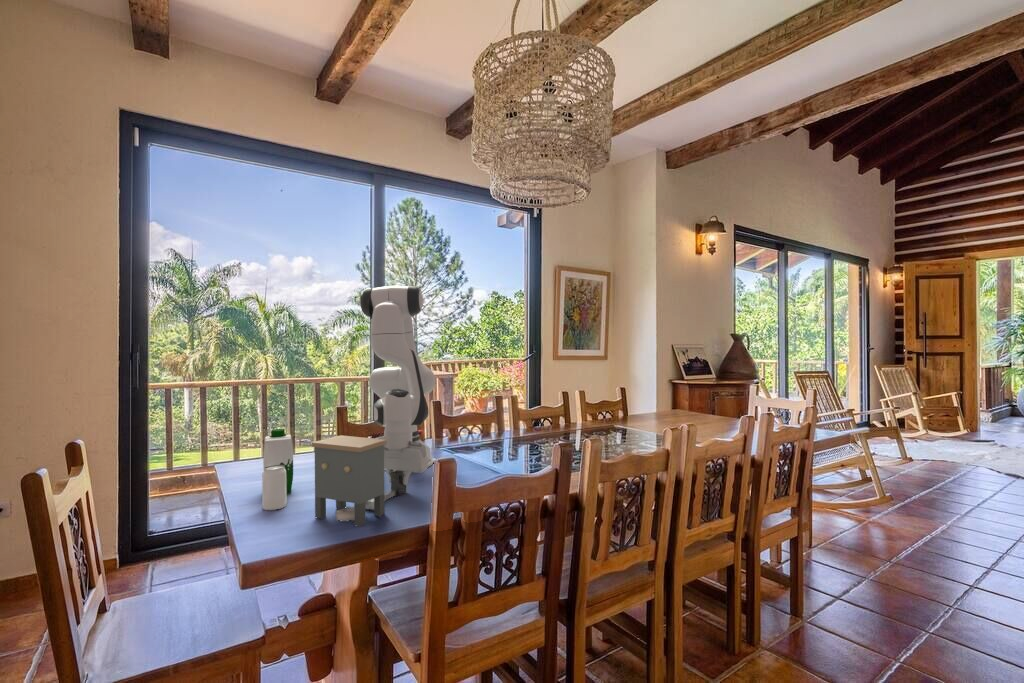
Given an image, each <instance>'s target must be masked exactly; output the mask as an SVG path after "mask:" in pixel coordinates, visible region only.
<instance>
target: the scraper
mask: <svg viewBox="0 0 1024 683" xmlns="http://www.w3.org/2000/svg"><path fill="white" fill-rule="evenodd" d="M404 476H405V474H404V471H399V470H396V471H393V472H391V483H390V491H388V492H386V493H385V492H384V502H386V501H387V500H389V498H390V499H392V498H393V496H394V497H395V496H400V495H403V494H405V493H407V484H406V485H403V484H401V479H403V478H404ZM391 497H392V498H391ZM369 509H370V510H371V511H374V498H373V499H371V500H369V501H366V502H365V510H369Z"/></svg>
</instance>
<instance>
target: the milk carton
mask: <svg viewBox="0 0 1024 683" xmlns="http://www.w3.org/2000/svg"><path fill="white" fill-rule="evenodd" d="M285 431H286V430H285V429H284V428H275V429H274V428H273V429H272V430H270V432H271V433H270V435H269V436H268V435H266V436H265V437H264V442H263V444H264V445H263V449H262V450H263V454H262V455H263V468H264V467H267V466H270V465H284V466H285V467H284V468H285V470H286V488H287V495H289V494H288V493H291V494H292V486H293V481H294V444H293V438H292V435H291V434H290V433H289V434H286V432H285Z"/></svg>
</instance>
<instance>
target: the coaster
mask: <svg viewBox="0 0 1024 683" xmlns="http://www.w3.org/2000/svg"><path fill="white" fill-rule="evenodd" d="M335 517H336V518H335V519H337V520H336V521H338V520H342V521H346V522H350V521H349V520H352V521H355V520H354V519H355V509H354V506H348V507H347V506H346V508H342V509H337V510H336V511H335ZM347 520H348V521H347ZM342 521H341V522H342Z"/></svg>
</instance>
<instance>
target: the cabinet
mask: <svg viewBox="0 0 1024 683" xmlns="http://www.w3.org/2000/svg"><path fill="white" fill-rule="evenodd" d="M385 444H387V440H384V439H374V437H373V438H372V437H371V438H370V437H364V436H363V437H361V436H360V437H359V436H351V435H343V434H342V435H340V434H339V435H337V436H332V437H328V438H324V439H320V440H316V441H313V442H311V447H312V448H314V518H315V517H317V518H322V519H324V518H326V517H327V500H332V501H333V500H334V501H335V509H336V508H337V509H336V510H339V509H342V508H345V507H347V503H351V504H353V507H354V509H355V520H354V526H355V525H357V526H356V527H360V526H361V527H363V526H364V524H365V525H366V519H367V518H366V517H367V516H366V509H365V502H366V501H370V500H372V499H374V510H373V511H374V512H373V515H376V516H375V517H379V516H381V515H382V516H384V515H385V506H386V504H385V501H384V494H385V470H384V445H385ZM383 514H384V515H383ZM325 516H326V517H325ZM382 516H381V517H382ZM323 517H324V518H323ZM317 518H316V519H317ZM362 525H363V526H362Z"/></svg>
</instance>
